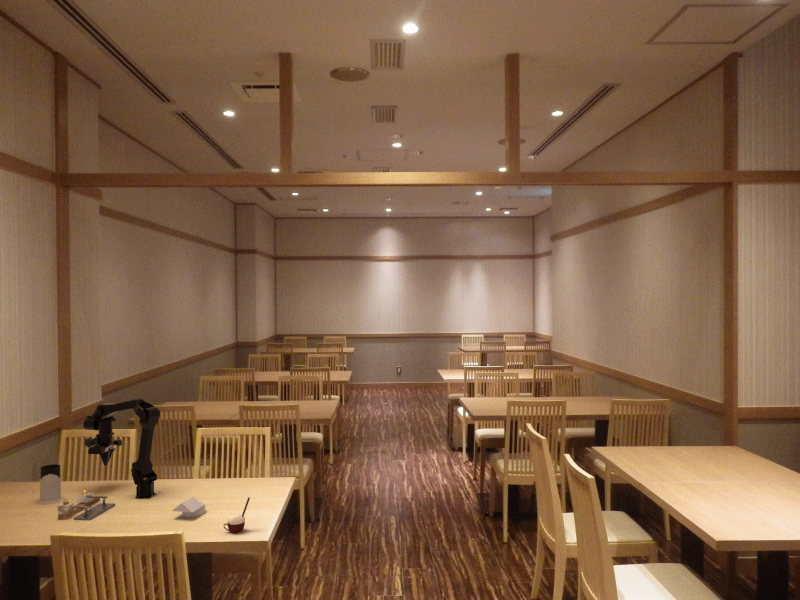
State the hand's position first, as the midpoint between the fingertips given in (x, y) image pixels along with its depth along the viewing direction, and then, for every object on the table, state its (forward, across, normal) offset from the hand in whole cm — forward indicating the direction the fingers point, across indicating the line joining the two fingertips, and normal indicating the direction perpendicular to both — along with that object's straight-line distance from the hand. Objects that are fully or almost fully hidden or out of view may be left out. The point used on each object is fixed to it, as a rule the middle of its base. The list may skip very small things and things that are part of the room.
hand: (105, 465), depth 279 cm
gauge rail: (+12, +24, +7) cm, 28 cm away
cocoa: (+12, +45, +77) cm, 90 cm away
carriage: (+11, +21, +7) cm, 25 cm away
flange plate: (+12, +28, +12) cm, 32 cm away
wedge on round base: (+12, +28, +52) cm, 60 cm away
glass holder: (+12, +12, -18) cm, 25 cm away
